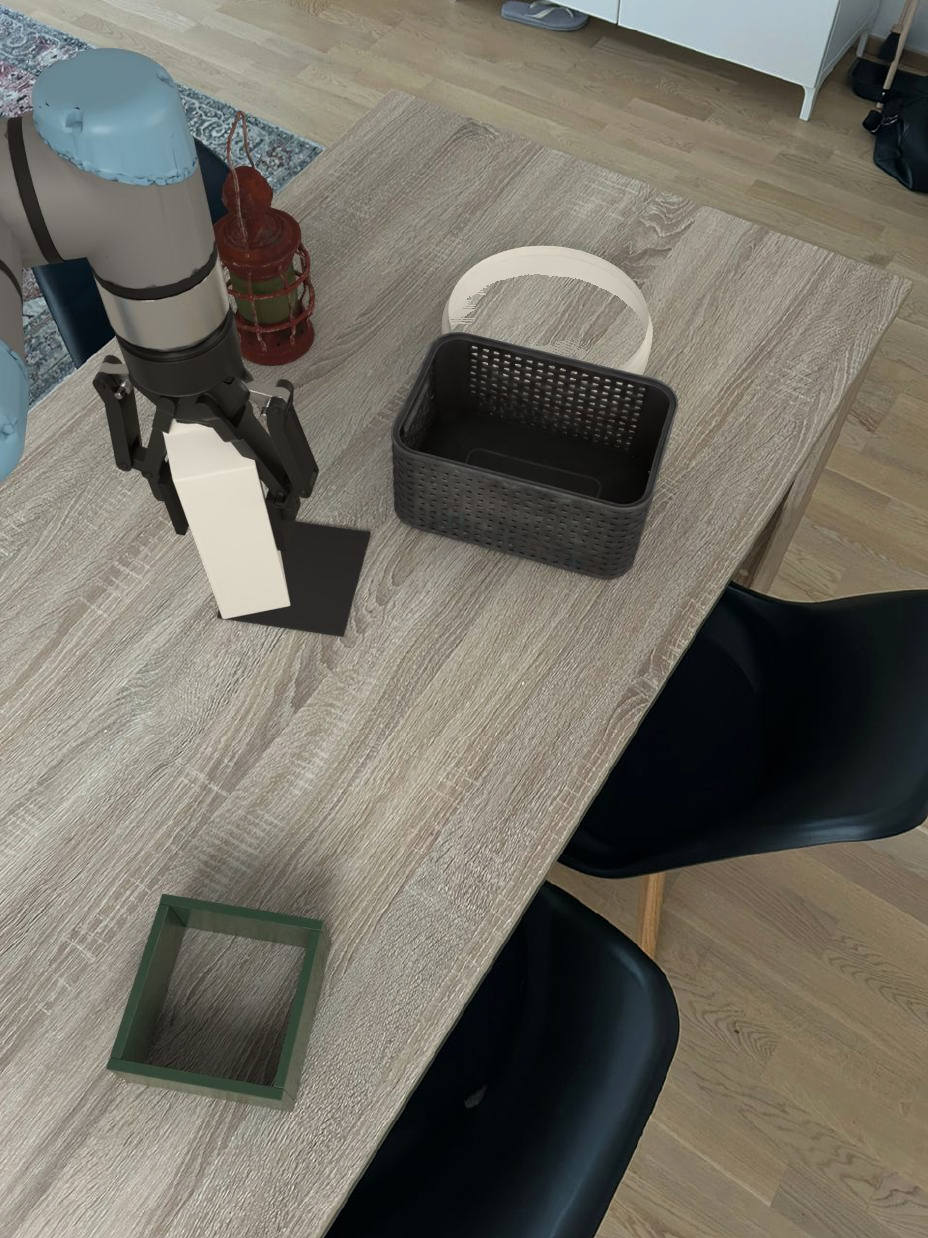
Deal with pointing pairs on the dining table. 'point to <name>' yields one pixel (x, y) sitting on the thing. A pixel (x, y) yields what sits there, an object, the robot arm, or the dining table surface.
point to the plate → (552, 264)
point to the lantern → (263, 267)
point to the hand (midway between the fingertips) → (236, 529)
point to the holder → (155, 982)
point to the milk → (227, 520)
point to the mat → (317, 580)
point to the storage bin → (530, 454)
